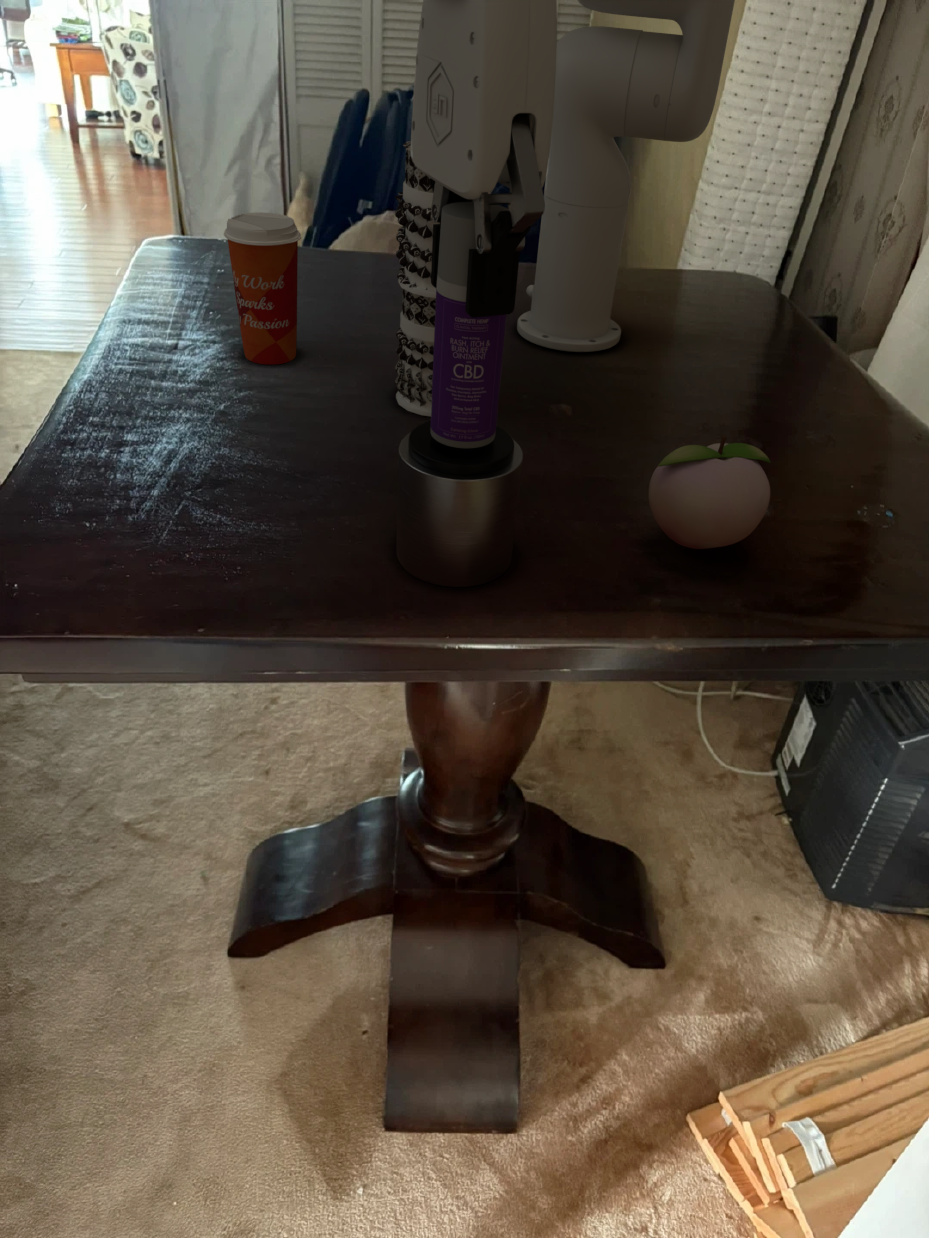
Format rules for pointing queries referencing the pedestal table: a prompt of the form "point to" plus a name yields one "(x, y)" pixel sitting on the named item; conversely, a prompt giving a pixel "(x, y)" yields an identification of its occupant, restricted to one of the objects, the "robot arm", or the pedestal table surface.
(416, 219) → the decorative candle
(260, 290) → the paper cup
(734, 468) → the decorative fruit
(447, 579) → the lidded metal canister
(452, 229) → the container
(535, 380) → the pedestal table surface
